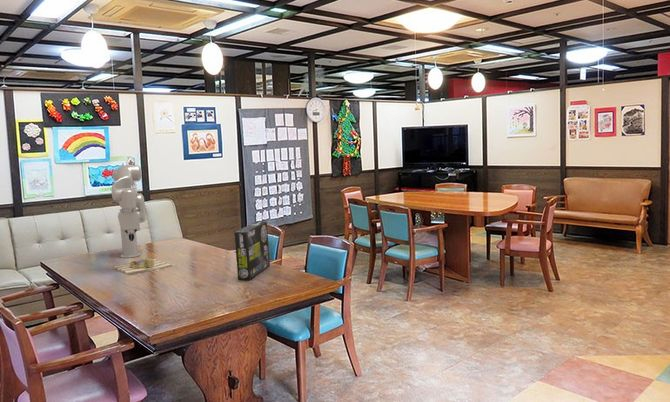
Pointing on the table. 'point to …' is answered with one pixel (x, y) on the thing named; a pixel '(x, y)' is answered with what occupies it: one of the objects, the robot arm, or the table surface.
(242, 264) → the box
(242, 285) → the table surface
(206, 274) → the table surface
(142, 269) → the base
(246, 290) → the table surface
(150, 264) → the ring nut
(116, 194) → the robot arm
